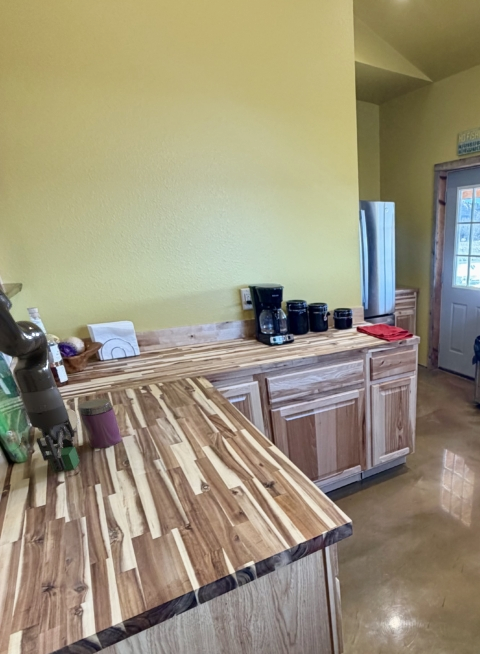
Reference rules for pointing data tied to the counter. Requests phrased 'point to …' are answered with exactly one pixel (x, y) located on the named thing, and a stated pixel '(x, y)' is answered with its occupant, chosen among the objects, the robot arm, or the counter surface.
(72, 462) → the block
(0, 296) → the robot arm
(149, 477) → the counter surface
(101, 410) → the jar lid
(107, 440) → the jar
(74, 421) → the grey canister
